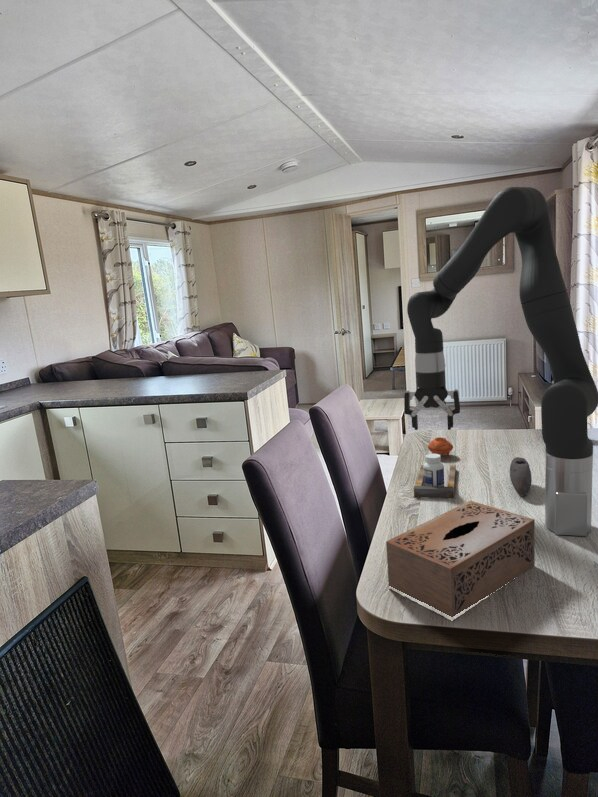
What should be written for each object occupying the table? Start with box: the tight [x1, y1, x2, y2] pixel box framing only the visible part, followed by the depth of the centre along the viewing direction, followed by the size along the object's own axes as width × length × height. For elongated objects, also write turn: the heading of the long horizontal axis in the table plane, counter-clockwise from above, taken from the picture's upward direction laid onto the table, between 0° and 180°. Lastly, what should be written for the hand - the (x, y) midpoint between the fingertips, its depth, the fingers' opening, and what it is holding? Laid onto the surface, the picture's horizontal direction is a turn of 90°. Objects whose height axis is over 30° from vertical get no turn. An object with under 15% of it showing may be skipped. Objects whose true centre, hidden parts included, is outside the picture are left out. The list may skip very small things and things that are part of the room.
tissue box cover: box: [385, 500, 536, 617], centre depth 105 cm, size 26×14×10 cm, turn 128°
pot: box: [427, 437, 454, 456], centre depth 176 cm, size 8×8×7 cm
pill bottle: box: [422, 453, 445, 487], centre depth 149 cm, size 5×5×10 cm
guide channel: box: [413, 464, 457, 499], centre depth 154 cm, size 22×10×2 cm, turn 163°
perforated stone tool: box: [509, 456, 533, 497], centre depth 144 cm, size 15×5×7 cm, turn 161°
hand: (432, 429), depth 146 cm, fingers open, 8 cm apart
